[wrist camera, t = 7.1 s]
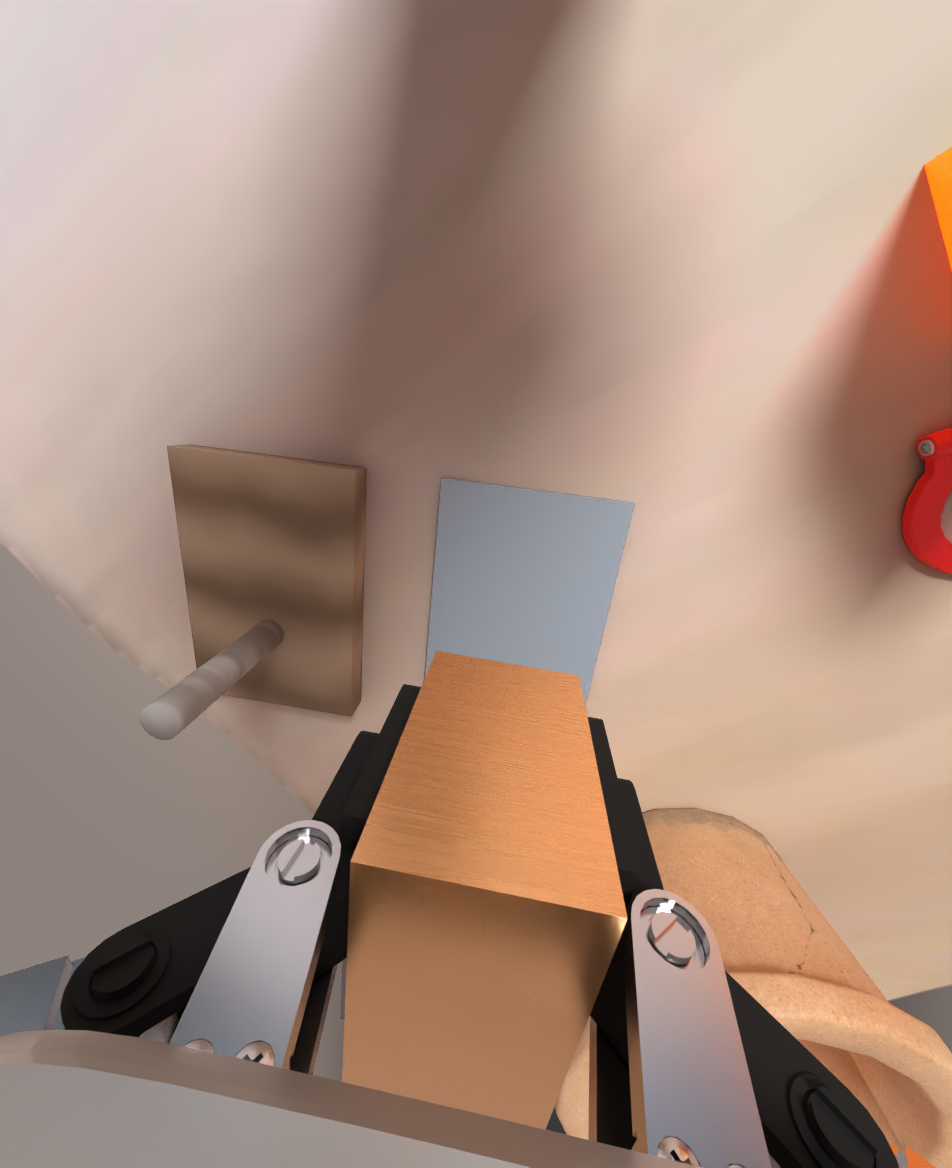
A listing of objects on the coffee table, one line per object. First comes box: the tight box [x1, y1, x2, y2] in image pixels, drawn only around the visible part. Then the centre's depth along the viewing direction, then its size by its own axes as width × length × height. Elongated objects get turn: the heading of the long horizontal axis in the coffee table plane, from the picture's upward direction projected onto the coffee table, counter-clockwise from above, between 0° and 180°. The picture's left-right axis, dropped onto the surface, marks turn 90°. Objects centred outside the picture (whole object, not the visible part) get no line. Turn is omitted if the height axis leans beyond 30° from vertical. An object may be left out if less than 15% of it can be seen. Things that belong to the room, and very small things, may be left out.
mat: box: [425, 478, 634, 705], centre depth 30 cm, size 16×12×1 cm
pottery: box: [555, 808, 952, 1168], centre depth 31 cm, size 22×22×14 cm
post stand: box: [139, 445, 366, 740], centre depth 26 cm, size 18×12×12 cm, turn 173°
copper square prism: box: [341, 651, 628, 1129], centre depth 10 cm, size 14×7×6 cm, turn 173°
